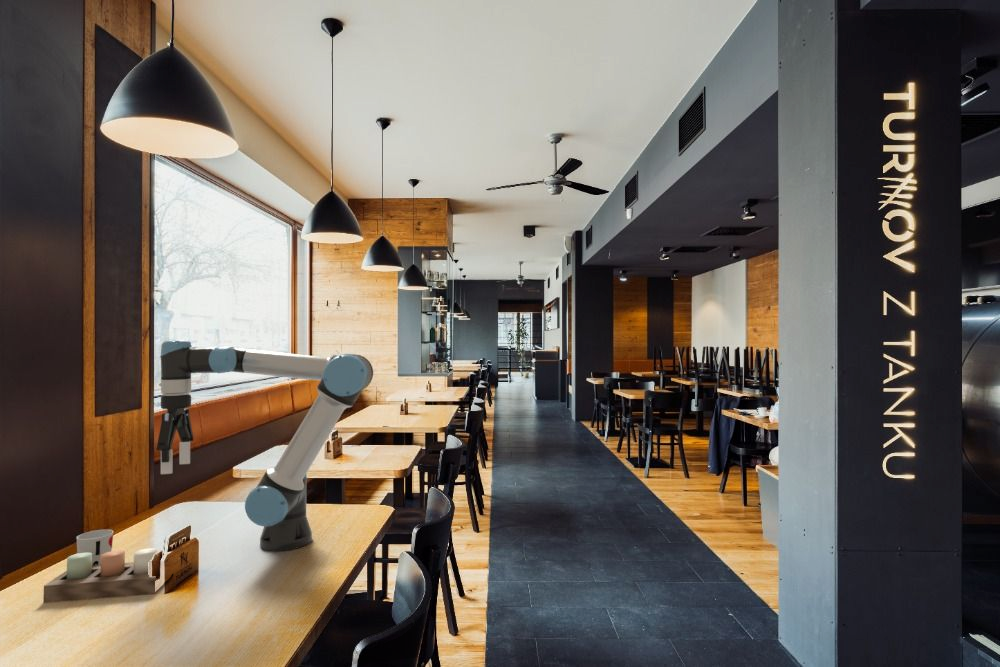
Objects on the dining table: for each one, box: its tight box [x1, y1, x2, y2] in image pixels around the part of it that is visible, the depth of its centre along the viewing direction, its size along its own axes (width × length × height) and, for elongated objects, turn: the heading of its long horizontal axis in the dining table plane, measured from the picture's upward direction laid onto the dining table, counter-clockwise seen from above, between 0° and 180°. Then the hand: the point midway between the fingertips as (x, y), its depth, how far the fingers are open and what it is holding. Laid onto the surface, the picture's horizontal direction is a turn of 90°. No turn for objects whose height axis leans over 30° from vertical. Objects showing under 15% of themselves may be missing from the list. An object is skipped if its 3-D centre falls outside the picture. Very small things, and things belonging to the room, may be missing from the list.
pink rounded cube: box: [100, 549, 126, 577], centre depth 139 cm, size 5×5×5 cm
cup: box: [76, 529, 114, 565], centre depth 149 cm, size 8×8×10 cm
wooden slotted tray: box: [42, 561, 156, 604], centre depth 138 cm, size 24×12×4 cm, turn 101°
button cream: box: [133, 547, 158, 575], centre depth 140 cm, size 5×5×5 cm
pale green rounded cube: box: [66, 552, 92, 580], centre depth 137 cm, size 5×5×5 cm
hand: (176, 468), depth 156 cm, fingers open, 13 cm apart
